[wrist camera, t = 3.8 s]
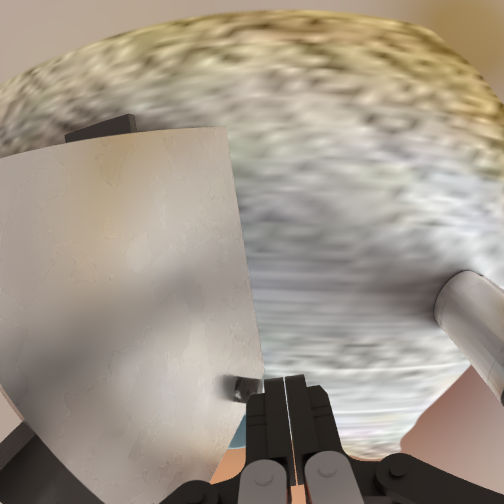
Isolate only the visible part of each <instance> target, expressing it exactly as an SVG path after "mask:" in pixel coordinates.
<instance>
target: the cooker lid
mask: <svg viewBox="0 0 504 504" xmlns="http://www.w3.org/2000/svg"><path fill="white" fill-rule="evenodd" d="M264 372H265V369H264V363H263V357H262V351H261V345H260V339H259V333H258V327H257V321H256V315H255V309H254V303H253V297H252V291H251V284H250V278H249V272H248V266H247V260H246V253H245V247H244V241H243V235H242V229H241V222H240V216H239V210H238V203H237V197H236V191H235V184H234V178H233V172H232V165H231V159H230V152H229V146H228V139H227V133H226V127H200V128H183V129H169V130H157V131H147V132H137V133H129V134H121V135H113V136H106V137H99V138H93V139H87V140H81V141H75V142H69V143H64V144H59V145H54V146H49V147H44V148H40V149H35V150H31V151H27V152H23V153H19V154H15V155H11V156H7V157H3V158H0V391H1V393H2V394H3V396H4V397H5V399H6V400H7V402H8V403H9V404H10V406H11V407H12V409H13V410H14V411H15V413H16V414H17V415H18V416H19V418H20V419H21V421H22V423H21V424H20V425H19V426H18V427H16V429H14V430H13V431H12V432H11V433H10V434H9V435H8V436H7V437H6V438H5V439H4V440H3V441H2V442H1V443H0V502H1V503H2V504H159V503H160V502H161V501H162V500H164V499H165V498H166V497H167V496H168V495H170V494H171V493H172V492H173V491H174V490H176V489H177V488H178V487H179V486H180V485H182V484H183V483H185V482H188V481H191V480H202V481H206V482H208V483H209V482H210V480H211V478H212V476H213V474H214V473H215V471H216V469H217V467H218V465H219V463H220V461H221V459H222V457H223V455H224V454H225V452H226V450H227V448H228V446H229V444H230V442H231V440H232V438H233V436H234V434H235V432H236V430H237V428H238V426H239V424H240V422H241V420H242V418H243V416H244V414H245V412H246V404H247V402H248V400H249V398H250V396H251V394H260V393H262V388H263V386H262V381H261V379H262V377H263V374H264Z"/></svg>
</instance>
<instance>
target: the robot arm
mask: <svg viewBox="0 0 504 504" xmlns="http://www.w3.org/2000/svg"><path fill="white" fill-rule="evenodd" d="M434 315H435V319H436V322H437V323H438V324H439V325H440V327H441V328H442V329H443V330H444V331H445V333H446V334H447V335H448V336H449V337H450V339H451V340H452V341H453V342H454V343H455V345H456V346H457V347H458V348H459V349H460V351H461V352H462V353H463V354H464V356H465V357H466V358H467V359H468V361H469V362H470V363H471V364H472V366H473V367H474V368H475V369H476V370H477V372H478V373H479V374H480V376H481V377H482V378H483V380H484V381H485V382H486V384H487V385H488V386H489V387H490V389H491V390H492V391H493V393H494V394H495V395H496V397H497V398H498V399H499V401H500V402H501V403H502V405H503V406H504V290H503V289H501V288H500V287H499V286H497V285H496V284H495V283H493V282H492V281H491V280H489V279H488V278H487V277H485V276H479V275H478V274H477V273H475V272H473V271H463V272H461V273H458V274H456V275H455V276H454V277H452V278H451V279H450V280H449V281H448V282H447V283H446V284H445V286H444V287H443V288H442V290H441V291H440V293H439V295H438V297H437V300H436V303H435V308H434ZM285 385H286V394H287V403H288V411H289V419H290V426H291V434H292V442H293V449H294V457H295V465H296V472H297V481H298V485H302V484H304V488H305V496H306V504H504V495H503V494H500V493H497V492H494V491H492V490H489V489H486V488H484V487H481V486H478V485H476V484H473V483H471V482H468V481H466V480H464V479H461V478H458V477H456V476H454V475H452V474H449V473H447V472H445V471H443V470H440V469H438V468H436V467H434V466H432V465H429V464H427V463H425V462H423V461H421V460H419V459H416V458H415V457H412V456H411V455H408V454H404V453H395V454H391V455H389V456H387V457H385V458H384V459H382V460H381V461H359V460H355V459H353V458H351V457H349V456H348V455H347V454H346V453H345V452H344V450H343V449H342V446H341V442H340V438H339V434H338V431H337V427H336V423H335V419H334V416H333V412H332V408H331V405H330V401H329V397H328V394H327V393H326V392H325V391H324V389H323V388H322V387H321V386H320V385H317V386H311V387H307V386H306V382H305V377H304V374H301V375H294V376H287V377H285ZM264 390H265V393H260V394H251V396H250V398H249V400H248V402H247V404H246V462H245V466H244V468H243V469H242V471H241V472H240V473H239V474H238V475H236V476H235V477H233V478H231V479H229V480H226V481H223V482H219V483H216V484H213V485H211V484H210V483H208V482H206V481H202V480H191V481H188V482H185V483H183V484H182V485H180V486H179V487H178V488H177V489H176V490H174V491H173V492H172V493H171V494H170V495H168V496H167V497H166V498H165V499H164V500H162V501H161V502H160V503H159V504H291V503H292V496H291V486H295V485H296V479H295V469H294V458H293V450H292V443H291V434H290V426H289V419H288V411H287V403H286V396H285V388H284V381H283V377H281V378H273V379H265V380H264Z"/></svg>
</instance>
